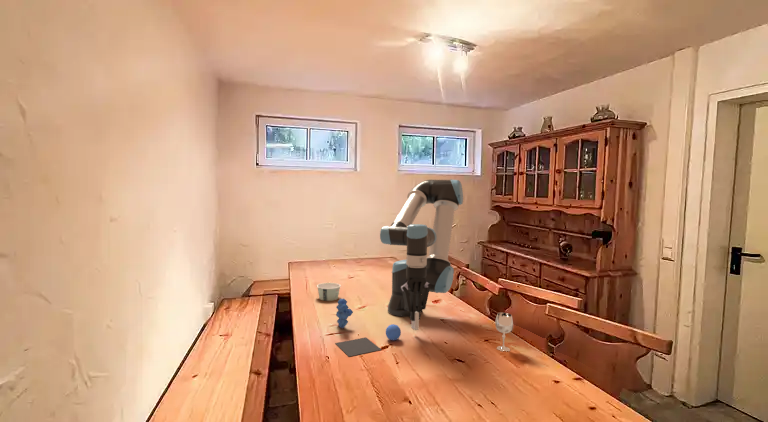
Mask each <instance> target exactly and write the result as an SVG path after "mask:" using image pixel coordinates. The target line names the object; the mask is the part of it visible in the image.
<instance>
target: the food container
mask: <svg viewBox="0 0 768 422" xmlns="http://www.w3.org/2000/svg"><path fill="white" fill-rule="evenodd" d="M316 287H317V292H318V298H319V300H321V301H323V302H324V301H325V302H331V301H336V300H338V299H339V295H340V289H341V287H342V285H341V284H340V283H337V282H322V283H318V284H317V285H316Z"/></svg>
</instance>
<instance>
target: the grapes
mask: <svg viewBox="0 0 768 422" xmlns="http://www.w3.org/2000/svg"><path fill="white" fill-rule="evenodd" d="M336 310H337V311H336V314H335V316H336V317H337V318H338V319H337V321H336V323H337V324H338V327H340V328H341V329H344V328H345V327H346V326H347V325H348V324H349V321H348V318H349V317H351V316H352V315H353V312H354V311H353V310H352V309H351V308H349V305H348V301H347V300H346V299H345V298H339V300H338V301H337V305H336Z"/></svg>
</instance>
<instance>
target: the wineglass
mask: <svg viewBox="0 0 768 422" xmlns="http://www.w3.org/2000/svg"><path fill="white" fill-rule="evenodd" d="M513 327H514V321H513V315H512V314H510V313H509V312H508V313H507V312H498V313H497V315H496V317H495V329H496V331H498V332H499V333H501V334H502V335H501V337H502V345H498V346H497V347H496V350H498V351H499V350H500V352H503V351H506V352H507V351H508V352H510V351H511V349H510V348H509V347H508V346H506V345H505V338H506V334H509V333H511V332H512V331H513ZM506 352H505V353H506Z"/></svg>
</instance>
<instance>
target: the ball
mask: <svg viewBox="0 0 768 422" xmlns="http://www.w3.org/2000/svg"><path fill="white" fill-rule="evenodd" d="M401 334H402V331H401V328H400V326H398V325H397V324H395V323H394V324H392V323H391V324H389V325H388V326H387V327H386V329H385V336H386V337H387V338H388V340H390V341H397V340H398V339H399V338H400V337H401Z"/></svg>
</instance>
